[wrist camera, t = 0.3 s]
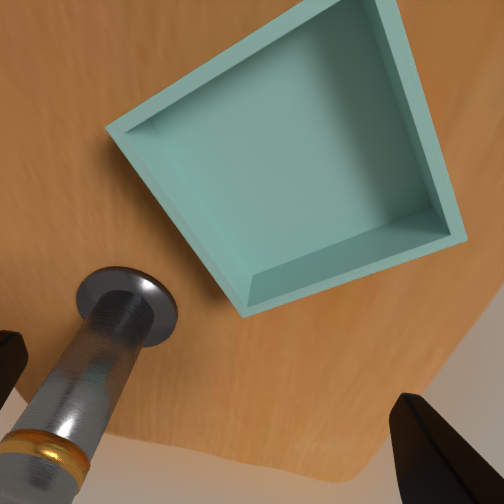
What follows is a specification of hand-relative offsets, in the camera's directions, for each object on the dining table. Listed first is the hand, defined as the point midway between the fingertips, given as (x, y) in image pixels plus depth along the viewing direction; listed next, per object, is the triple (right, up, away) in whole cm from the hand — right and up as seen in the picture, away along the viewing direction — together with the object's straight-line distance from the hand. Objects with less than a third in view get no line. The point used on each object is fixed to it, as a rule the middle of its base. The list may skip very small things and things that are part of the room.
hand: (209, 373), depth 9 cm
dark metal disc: (-8, -1, +18) cm, 19 cm away
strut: (-8, -1, +17) cm, 19 cm away
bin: (+3, +8, +11) cm, 14 cm away
